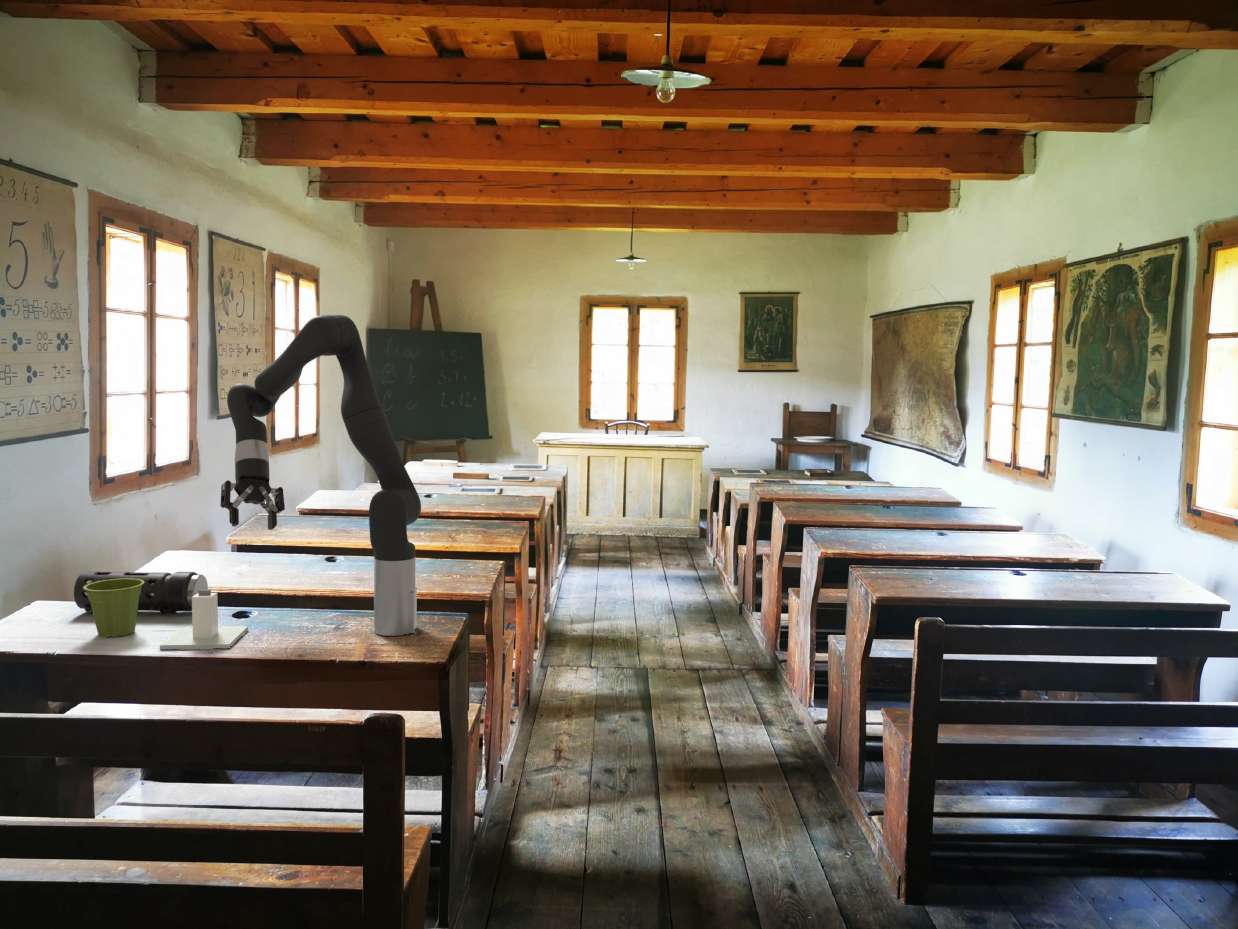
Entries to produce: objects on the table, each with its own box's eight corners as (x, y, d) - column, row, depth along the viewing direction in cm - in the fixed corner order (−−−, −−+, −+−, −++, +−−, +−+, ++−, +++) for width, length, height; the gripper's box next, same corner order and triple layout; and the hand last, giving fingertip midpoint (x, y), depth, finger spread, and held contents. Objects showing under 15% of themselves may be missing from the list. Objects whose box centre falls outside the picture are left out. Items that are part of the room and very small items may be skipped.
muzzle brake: (95, 607, 223) (94, 566, 222) (210, 609, 224) (209, 568, 223) (73, 617, 214) (71, 574, 213) (192, 619, 214) (191, 576, 213)
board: (248, 630, 205) (247, 626, 205) (229, 648, 192) (229, 644, 191) (183, 631, 204) (183, 627, 204) (159, 649, 190) (159, 645, 190)
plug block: (218, 632, 200) (217, 587, 199) (212, 637, 196) (211, 592, 195) (199, 632, 199) (198, 587, 198) (192, 637, 195) (191, 592, 194)
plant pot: (111, 624, 208) (110, 576, 207) (157, 628, 206) (156, 579, 205) (72, 639, 196) (70, 588, 195) (120, 643, 194) (118, 591, 193)
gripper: (228, 452, 207) (229, 519, 202) (288, 461, 217) (290, 525, 212) (215, 464, 212) (216, 529, 206) (273, 472, 222) (276, 534, 216)
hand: (253, 527), depth 209 cm, fingers open, 8 cm apart
